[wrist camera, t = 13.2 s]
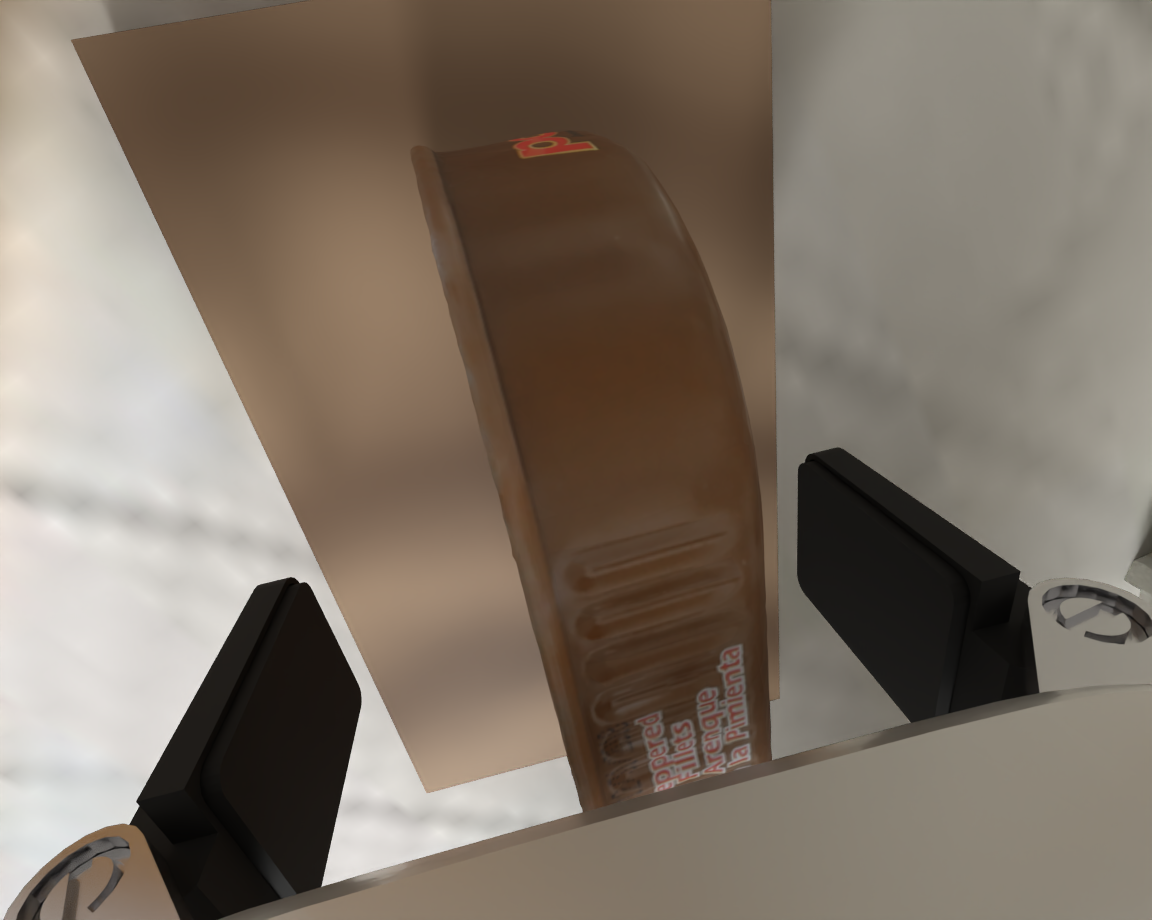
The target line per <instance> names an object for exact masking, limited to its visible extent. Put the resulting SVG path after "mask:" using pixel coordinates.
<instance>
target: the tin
mask: <svg viewBox="0 0 1152 920" xmlns="http://www.w3.org/2000/svg"><path fill="white" fill-rule="evenodd" d="M410 154H411V160H412V164H413V168H414V171H415V174H416V179H417V185H418V191H419V194H420V197H421V201H422V207H423V212H424V216H425V219H426V222H427V226H428V229H429V233H430V238H431V247H432V252H433V255H434V258H435V260H436V265H437V270H438V273H439V276H440V279H441V282H442V287H443V292H444V296H445V298H446V301H447V303H448V309H449V315H450V318H451V321H452V325H453V328H454V331H455V335H456V339H457V345H458V348H459V351H460V354H461V357H462V360H463V363H464V367H465V371H466V375H467V379H468V383H469V388H470V392H471V397H472V401H473V404H474V407H475V411H476V415H477V420H478V424H479V428H480V433H481V436H482V439H483V443H484V446H485V450H486V454H487V458H488V462H489V466H490V470H491V473H492V477H493V480H494V483H495V486H496V488H497V491H498V495H499V499H500V504H501V509H502V515H503V519H504V522H505V525H506V529H507V532H508V536H509V540H510V544H511V548H512V556H513V558H514V559H515V561H516V564H517V568H518V572H519V576H520V581H521V584H522V588H523V592H524V595H525V600H526V604H527V608H528V612H529V616H530V620H531V624H532V628H533V631H534V635H535V638H536V641H537V644H538V648H539V651H540V655H541V659H542V663H543V667H544V671H545V675H546V679H547V683H548V687H549V690H550V694H551V698H552V701H553V705H554V709H555V712H556V715H557V718H558V722H559V726H560V730H561V735H562V739H563V743H564V747H565V750H566V754H567V758H568V762H569V765H570V767H571V772H572V776H573V779H574V781H575V785H576V789H577V792H578V797H579V801H580V805H581V807H582V809H583V812H586V811H590V810H594V809H597V808H601V807H604V806H608V805H612V804H615V803H619V802H622V801H626V800H630V799H633V798H637V797H640V796H644V795H648V794H651V793H655V792H659V791H662V790H666V789H669V788H673V787H677V786H680V785H684V784H688V783H691V782H695V781H698V780H702V779H706V778H709V777H713V776H717V775H720V774H724V773H728V772H731V771H735V770H738V769H742V768H746V767H749V766H753V765H757V764H761V763H764V762H768V761H772V754H771V721H770V700H769V673H768V646H767V614H766V607H765V605H766V588H765V563H764V530H763V515H762V500H761V491H760V484H759V476H758V468H757V460H756V452H755V445H754V440H753V435H752V430H751V424H750V419H749V414H748V410H747V405H746V401H745V396H744V392H743V387H742V383H741V379H740V375H739V371H738V367H737V363H736V360H735V356H734V352H733V348H732V344H731V341H730V337H729V333H728V329H727V326H726V323H725V321H724V318H723V315H722V312H721V310H720V307H719V304H718V301H717V299H716V296H715V293H714V290H713V288H712V285H711V282H710V279H709V277H708V274H707V271H706V269H705V266H704V264H703V261H702V259H701V256H700V254H699V251H698V249H697V247H696V245H695V243H694V241H693V239H692V237H691V235H690V234H689V232H688V230H687V228H686V226H685V224H684V222H683V220H682V218H681V216H680V214H679V212H678V210H677V208H676V207H675V205H674V203H673V202H672V200H671V199H670V197H669V195H668V194H667V192H666V191H665V189H664V187H663V186H662V184H661V183H660V181H659V180H658V179H657V177H656V176H655V174H654V173H653V172H652V170H651V169H650V168H649V166H648V165H647V163H646V162H644V161H643V160H642V159H641V158H640V157H638V156H637V155H636V154H635V153H634V152H632V151H631V150H630V149H628V148H627V147H625V146H623V145H621V144H619V143H617V142H614V141H612V140H610V139H608V138H605V137H603V136H600V135H598V134H594V133H591V132H587V131H574V130H568V131H559V132H550V133H543V134H538V135H533V136H528V137H523V138H519V139H514V140H509V141H504V142H499V143H494V144H489V145H484V146H478V147H472V148H467V149H461V150H455V151H447V152H434V151H433V150H431V149H430V148H428V147H426V146H420V145H418V146H414V147H413V148H411V152H410Z"/></svg>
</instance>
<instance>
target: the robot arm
mask: <svg viewBox="0 0 1152 920" xmlns="http://www.w3.org/2000/svg"><path fill="white" fill-rule="evenodd" d="M797 576H798V581H799V584H800V587H801V589H802V591H803V592H804V594H805V595H806V596H807V597H808V598H809V600H810V601H811V602H812V603H813V604H814V606H815V607H816V608H817V609H818V611H819V612H820V613H821V614H822V615H823V617H824V618H825V619H826V620H827V621H828V623H829V624H830V625H831V626H832V627H833V629H834V630H835V631H836V632H837V633H838V635H839V636H840V637H841V638H842V640H843V641H844V642H845V643H846V644H847V646H848V647H849V648H850V649H851V650H852V652H853V653H854V654H855V655H856V656H857V658H858V659H859V660H860V661H861V662H862V664H863V665H864V666H865V667H866V668H867V670H868V671H869V672H870V673H871V675H872V676H873V677H874V678H875V679H876V681H877V682H878V683H879V684H880V685H881V687H882V688H883V689H884V690H885V691H886V693H887V694H888V695H889V696H890V697H891V699H892V700H893V701H894V702H895V704H896V705H897V706H898V707H899V708H900V710H901V711H902V712H903V713H904V714H905V716H906V717H907V718H908V719H909V720H910V722H911V723H909V724H905V725H901V726H897V727H894V728H890V729H886V730H883V731H879V732H875V733H871V734H868V735H864V736H860V737H857V738H853V739H849V740H846V741H842V742H838V743H835V744H831V745H827V746H823V747H820V748H816V749H812V750H809V751H805V752H801V753H798V754H794V755H790V756H786V757H783V758H779V759H775V760H772V761H768V762H764V763H761V764H757V765H753V766H749V767H746V768H742V769H738V770H735V771H731V772H728V773H724V774H720V775H717V776H713V777H709V778H706V779H702V780H698V781H695V782H691V783H688V784H684V785H680V786H677V787H673V788H669V789H666V790H662V791H659V792H655V793H651V794H648V795H644V796H640V797H637V798H633V799H630V800H626V801H622V802H619V803H615V804H612V805H608V806H604V807H601V808H597V809H594V810H590V811H586V812H583V813H579V814H576V815H572V816H568V817H565V818H561V819H558V820H554V821H550V822H547V823H543V824H540V825H536V826H532V827H529V828H525V829H522V830H518V831H515V832H511V833H508V834H504V835H501V836H497V837H494V838H490V839H487V840H483V841H479V842H476V843H472V844H469V845H465V846H462V847H458V848H455V849H451V850H448V851H444V852H441V853H437V854H433V855H430V856H426V857H423V858H419V859H416V860H412V861H409V862H405V863H402V864H398V865H395V866H391V867H388V868H384V869H380V870H377V871H373V872H370V873H366V874H363V875H360V876H356V877H353V878H350V879H346V880H343V881H340V882H336V883H333V884H330V885H326V886H323V887H321V886H322V881H323V877H324V872H325V867H326V863H327V858H328V854H329V849H330V845H331V840H332V836H333V831H334V827H335V822H336V818H337V813H338V809H339V804H340V800H341V795H342V791H343V786H344V781H345V777H346V772H347V768H348V763H349V759H350V754H351V750H352V745H353V741H354V736H355V732H356V727H357V723H358V718H359V714H360V709H361V691H360V687H359V685H358V683H357V681H356V679H355V677H354V674H353V672H352V670H351V668H350V666H349V664H348V662H347V660H346V658H345V656H344V654H343V652H342V650H341V648H340V646H339V644H338V642H337V640H336V638H335V636H334V634H333V632H332V630H331V628H330V626H329V624H328V622H327V620H326V618H325V615H324V613H323V611H322V609H321V607H320V605H319V603H318V601H317V599H316V597H315V595H314V593H313V591H312V589H311V587H310V586H309V585H308V584H307V583H305V582H303V583H299V582H298V581H297V580H296V579H295V578H292V577H290V578H286V579H281V580H277V581H273V582H269V583H265V584H261V585H258V586H257V587H256V588H255V589H254V591H253V593H252V595H251V596H250V598H249V600H248V602H247V604H246V605H245V607H244V609H243V611H242V612H241V614H240V616H239V618H238V620H237V621H236V623H235V625H234V627H233V629H232V630H231V632H230V634H229V636H228V638H227V639H226V641H225V643H224V645H223V647H222V648H221V650H220V652H219V654H218V656H217V657H216V659H215V661H214V663H213V665H212V666H211V668H210V670H209V672H208V674H207V675H206V677H205V679H204V681H203V683H202V684H201V686H200V688H199V690H198V691H197V693H196V695H195V697H194V699H193V700H192V702H191V704H190V706H189V708H188V709H187V711H186V713H185V715H184V717H183V718H182V720H181V722H180V724H179V726H178V727H177V729H176V731H175V733H174V735H173V736H172V738H171V740H170V742H169V744H168V745H167V747H166V749H165V751H164V753H163V754H162V756H161V758H160V760H159V762H158V763H157V765H156V767H155V769H154V771H153V772H152V774H151V776H150V778H149V779H148V781H147V783H146V785H145V787H144V788H143V790H142V792H141V794H140V796H139V797H138V799H137V801H136V802H137V803H138V804H139V808H138V810H137V812H136V814H135V815H134V817H133V819H132V821H131V823H130V825H127V824H118V825H113V826H108V827H104V828H102V829H100V830H98V831H95V832H93V833H91V834H88V835H86V836H84V837H83V838H81V839H80V840H78V841H76V842H75V843H73V844H72V845H70V846H69V847H67V848H65V849H64V850H63V851H62V852H60V853H59V854H58V855H57V856H55V857H54V858H53V859H52V860H51V861H49V862H48V863H47V864H46V865H45V866H43V867H42V868H41V869H40V871H39V872H38V873H37V874H36V875H35V876H34V877H33V878H32V879H31V880H30V881H29V882H28V883H27V884H26V885H25V886H24V888H23V889H22V890H21V892H20V893H19V895H18V896H17V897H16V899H15V900H14V902H13V903H12V904H11V906H10V907H9V908H8V910H7V913H6V915H5V917H4V919H3V920H1152V605H1150V604H1149V603H1148V602H1146V601H1144V600H1143V599H1141V598H1139V597H1137V596H1135V595H1133V594H1132V593H1130V592H1128V591H1125V590H1122V589H1120V588H1117V587H1114V586H1111V585H1109V584H1105V583H1101V582H1096V581H1092V580H1088V579H1077V578H1057V579H1049V580H1046V581H1043V582H1040V583H1038V584H1036V585H1035V586H1034V587H1033V588H1030V587H1029V586H1027V585H1026V584H1025V583H1023V582H1022V581H1020V580H1019V576H1020V571H1019V570H1018V569H1016V568H1015V567H1013V566H1012V565H1010V564H1009V563H1007V562H1006V561H1005V560H1003V559H1002V558H1000V557H999V556H997V555H996V554H994V553H993V552H992V551H990V550H989V549H987V548H986V547H984V546H983V545H981V544H980V543H978V542H977V541H976V540H974V539H973V538H971V537H970V536H968V535H967V534H965V533H964V532H963V531H961V530H960V529H958V528H957V527H955V526H954V525H952V524H951V523H949V522H948V521H947V520H945V519H944V518H942V517H941V516H939V515H938V514H936V513H935V512H934V511H932V510H931V509H929V508H928V507H926V506H925V505H923V504H922V503H920V502H919V501H918V500H916V499H915V498H913V497H912V496H910V495H909V494H907V493H906V492H905V491H903V490H902V489H900V488H899V487H897V486H896V485H894V484H893V483H891V482H890V481H889V480H887V479H886V478H884V477H883V476H881V475H880V474H878V473H877V472H876V471H874V470H873V469H871V468H870V467H868V466H867V465H865V464H864V463H862V462H861V461H860V460H858V459H857V458H855V457H854V456H852V455H851V454H849V453H848V452H847V451H845V450H844V449H841V448H833V449H829V450H825V451H821V452H816V453H812V454H809V455H808V456H807V458H806V460H805V463H802V464H801V465H800V466H799V468H798V538H797Z"/></svg>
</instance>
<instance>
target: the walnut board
mask: <svg viewBox="0 0 1152 920" xmlns="http://www.w3.org/2000/svg"><path fill="white" fill-rule="evenodd" d="M71 41H72V43H73V45H74V48H75V50H76V52H77V54H78V56H79V58H80V60H81V62H82V65H83V67H84V69H85V71H86V73H87V75H88V77H89V79H90V81H91V84H92V86H93V88H94V90H95V92H96V94H97V96H98V98H99V101H100V103H101V105H102V107H103V109H104V111H105V113H106V115H107V117H108V120H109V122H110V124H111V126H112V128H113V130H114V132H115V134H116V137H117V139H118V141H119V143H120V145H121V147H122V149H123V151H124V153H125V156H126V158H127V160H128V162H129V164H130V166H131V168H132V170H133V172H134V175H135V177H136V179H137V181H138V183H139V185H140V187H141V189H142V192H143V194H144V196H145V198H146V200H147V202H148V204H149V206H150V208H151V211H152V213H153V215H154V217H155V219H156V221H157V223H158V225H159V228H160V230H161V232H162V234H163V236H164V238H165V240H166V242H167V244H168V247H169V249H170V251H171V253H172V255H173V257H174V259H175V261H176V264H177V266H178V268H179V270H180V272H181V274H182V276H183V278H184V280H185V283H186V285H187V287H188V289H189V291H190V293H191V295H192V297H193V300H194V302H195V304H196V306H197V308H198V310H199V312H200V314H201V316H202V319H203V321H204V323H205V325H206V327H207V329H208V331H209V333H210V335H211V338H212V340H213V342H214V344H215V346H216V348H217V350H218V352H219V355H220V357H221V359H222V361H223V363H224V365H225V367H226V369H227V371H228V374H229V376H230V378H231V380H232V382H233V384H234V386H235V388H236V391H237V393H238V395H239V397H240V399H241V401H242V403H243V405H244V407H245V410H246V412H247V414H248V416H249V418H250V420H251V422H252V424H253V427H254V429H255V431H256V433H257V435H258V437H259V439H260V441H261V443H262V446H263V448H264V450H265V452H266V454H267V456H268V458H269V460H270V463H271V465H272V467H273V469H274V471H275V473H276V475H277V477H278V479H279V482H280V484H281V486H282V488H283V490H284V492H285V494H286V496H287V498H288V501H289V503H290V505H291V507H292V509H293V511H294V513H295V515H296V518H297V520H298V522H299V524H300V526H301V528H302V530H303V532H304V534H305V537H306V539H307V541H308V543H309V545H310V547H311V549H312V551H313V554H314V556H315V558H316V560H317V562H318V564H319V566H320V568H321V570H322V573H323V575H324V577H325V579H326V581H327V583H328V585H329V587H330V590H331V592H332V594H333V596H334V598H335V600H336V602H337V604H338V606H339V609H340V611H341V613H342V615H343V617H344V619H345V621H346V623H347V626H348V628H349V630H350V632H351V634H352V636H353V638H354V640H355V642H356V645H357V647H358V649H359V651H360V653H361V655H362V657H363V659H364V661H365V664H366V666H367V668H368V670H369V672H370V674H371V676H372V678H373V681H374V683H375V685H376V687H377V689H378V691H379V693H380V695H381V697H382V700H383V702H384V704H385V706H386V708H387V710H388V712H389V714H390V717H391V719H392V721H393V723H394V725H395V727H396V729H397V731H398V733H399V736H400V738H401V740H402V742H403V744H404V746H405V748H406V750H407V753H408V755H409V757H410V759H411V761H412V763H413V765H414V767H415V769H416V772H417V774H418V776H419V778H420V780H421V782H422V784H423V786H424V789H425V791H426V793H430V792H434V791H437V790H441V789H445V788H449V787H452V786H456V785H460V784H463V783H467V782H471V781H475V780H478V779H482V778H486V777H489V776H493V775H497V774H501V773H504V772H508V771H512V770H515V769H519V768H523V767H527V766H530V765H534V764H538V763H542V762H545V761H549V760H553V759H556V758H560V757H564V756H567V754H566V750H565V747H564V743H563V739H562V735H561V730H560V726H559V722H558V718H557V715H556V712H555V709H554V705H553V701H552V698H551V694H550V690H549V687H548V683H547V679H546V675H545V671H544V667H543V663H542V659H541V655H540V651H539V648H538V644H537V641H536V638H535V635H534V631H533V628H532V624H531V620H530V616H529V612H528V608H527V604H526V600H525V595H524V592H523V588H522V584H521V581H520V576H519V572H518V568H517V564H516V561H515V559H514V558H513V556H512V548H511V544H510V540H509V536H508V532H507V529H506V525H505V522H504V519H503V515H502V509H501V504H500V499H499V495H498V491H497V488H496V486H495V483H494V480H493V477H492V473H491V470H490V466H489V462H488V458H487V454H486V450H485V446H484V443H483V439H482V436H481V433H480V428H479V424H478V420H477V415H476V411H475V407H474V404H473V401H472V397H471V392H470V388H469V383H468V379H467V375H466V371H465V367H464V363H463V360H462V357H461V354H460V351H459V348H458V345H457V339H456V335H455V331H454V328H453V325H452V321H451V318H450V315H449V309H448V303H447V301H446V298H445V296H444V292H443V287H442V282H441V279H440V276H439V273H438V270H437V265H436V260H435V258H434V255H433V252H432V247H431V238H430V233H429V229H428V226H427V222H426V219H425V216H424V212H423V207H422V201H421V197H420V194H419V191H418V185H417V179H416V174H415V171H414V168H413V164H412V160H411V154H410V152H411V148H413V147H414V146H418V145H420V146H426V147H428V148H430V149H431V150H433V151H434V152H447V151H455V150H461V149H467V148H472V147H478V146H484V145H489V144H494V143H499V142H504V141H509V140H514V139H519V138H523V137H528V136H533V135H538V134H543V133H550V132H559V131H568V130H574V131H587V132H591V133H594V134H598V135H600V136H603V137H605V138H608V139H610V140H612V141H614V142H617V143H619V144H621V145H623V146H625V147H627V148H628V149H630V150H631V151H632V152H634V153H635V154H636V155H637V156H638V157H640V158H641V159H642V160H643V161H644V162H646V163H647V165H648V166H649V168H650V169H651V170H652V172H653V173H654V174H655V176H656V177H657V179H658V180H659V181H660V183H661V184H662V186H663V187H664V189H665V191H666V192H667V194H668V195H669V197H670V199H671V200H672V202H673V203H674V205H675V207H676V208H677V210H678V212H679V214H680V216H681V218H682V220H683V222H684V224H685V226H686V228H687V230H688V232H689V234H690V235H691V237H692V239H693V241H694V243H695V245H696V247H697V249H698V251H699V254H700V256H701V259H702V261H703V264H704V266H705V269H706V271H707V274H708V277H709V279H710V282H711V285H712V288H713V290H714V293H715V296H716V299H717V301H718V304H719V307H720V310H721V312H722V315H723V318H724V321H725V323H726V326H727V329H728V333H729V337H730V341H731V344H732V348H733V352H734V356H735V360H736V363H737V367H738V371H739V375H740V379H741V383H742V387H743V392H744V396H745V401H746V405H747V410H748V414H749V419H750V424H751V430H752V435H753V440H754V445H755V452H756V460H757V468H758V476H759V484H760V491H761V500H762V515H763V530H764V563H765V588H766V605H765V607H766V614H767V646H768V673H769V700H770V701H772V700H776V699H780V698H779V617H778V535H777V454H776V372H775V290H774V209H773V127H772V46H771V0H308V1H302V2H296V3H290V4H284V5H278V6H272V7H266V8H260V9H254V10H248V11H242V12H236V13H230V14H224V15H218V16H212V17H206V18H200V19H194V20H188V21H182V22H176V23H170V24H164V25H158V26H152V27H146V28H139V29H133V30H127V31H121V32H115V33H109V34H103V35H97V36H91V37H85V38H79V39H73V40H71Z"/></svg>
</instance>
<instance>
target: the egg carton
mask: <svg viewBox="0 0 1152 920" xmlns="http://www.w3.org/2000/svg"><path fill="white" fill-rule="evenodd" d="M1125 581H1127V582H1128V583H1130V584H1131V585H1133V586H1135V587H1136V588H1138V589H1140V596H1139V597H1140V598H1141V599H1143V600H1144V601H1146V602H1148V603H1149V604H1150V605H1152V552H1151V553H1149V554H1148V555H1145V556H1143V557H1140V558H1138V559H1136V560H1134V562H1133V563H1132V565H1131V567H1130V569H1129V571H1128V573H1127V575H1126V577H1125Z"/></svg>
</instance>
